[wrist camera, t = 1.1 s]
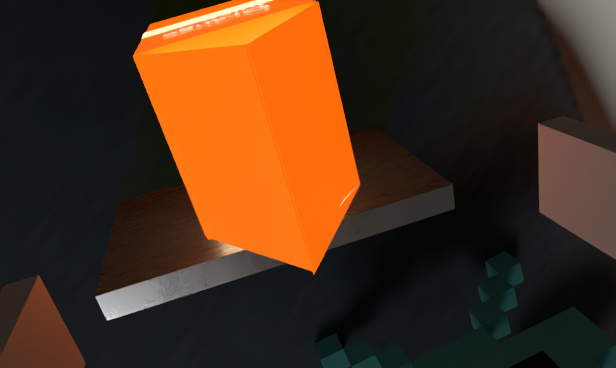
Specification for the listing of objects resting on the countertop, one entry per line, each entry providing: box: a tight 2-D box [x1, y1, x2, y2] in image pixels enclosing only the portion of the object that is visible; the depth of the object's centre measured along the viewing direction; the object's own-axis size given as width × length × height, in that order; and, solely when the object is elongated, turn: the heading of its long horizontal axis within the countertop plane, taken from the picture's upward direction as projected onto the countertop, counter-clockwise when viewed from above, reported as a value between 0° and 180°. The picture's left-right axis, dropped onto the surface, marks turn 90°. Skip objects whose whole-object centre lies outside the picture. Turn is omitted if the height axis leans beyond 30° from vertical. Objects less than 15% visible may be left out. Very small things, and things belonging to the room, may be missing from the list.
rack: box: [95, 128, 455, 321], centre depth 28 cm, size 24×20×12 cm
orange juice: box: [133, 0, 360, 274], centre depth 25 cm, size 8×9×20 cm
